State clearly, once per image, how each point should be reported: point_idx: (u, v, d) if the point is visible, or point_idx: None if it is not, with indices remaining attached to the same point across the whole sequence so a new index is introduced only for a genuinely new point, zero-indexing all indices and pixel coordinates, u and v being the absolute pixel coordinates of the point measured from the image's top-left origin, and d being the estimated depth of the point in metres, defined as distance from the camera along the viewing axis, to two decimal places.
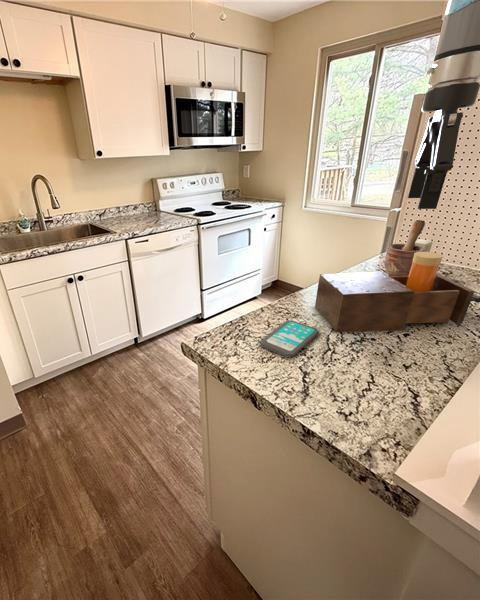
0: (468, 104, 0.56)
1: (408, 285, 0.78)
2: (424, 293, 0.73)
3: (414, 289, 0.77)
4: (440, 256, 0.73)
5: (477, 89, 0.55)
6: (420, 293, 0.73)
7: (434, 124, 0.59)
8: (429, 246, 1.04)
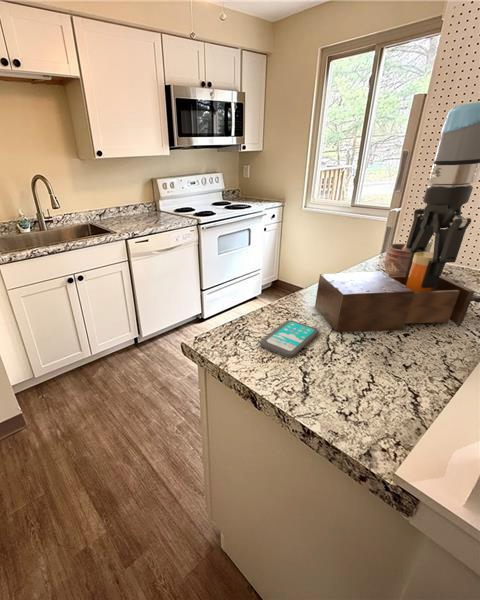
0: (466, 202, 0.67)
1: (408, 285, 0.78)
2: (424, 293, 0.73)
3: (414, 289, 0.77)
4: (440, 256, 0.73)
5: (471, 191, 0.66)
6: (420, 293, 0.73)
7: (440, 215, 0.69)
8: (429, 246, 1.04)
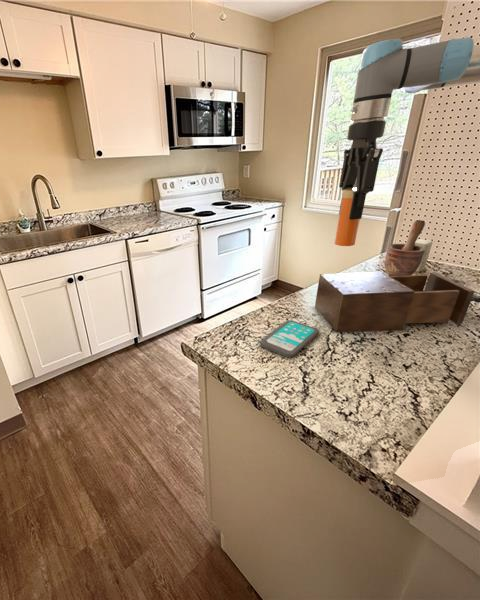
0: (381, 136, 0.75)
1: (339, 220, 0.87)
2: (424, 293, 0.73)
3: (344, 222, 0.85)
4: None
5: None
6: (420, 293, 0.73)
7: (360, 150, 0.77)
8: (429, 246, 1.04)
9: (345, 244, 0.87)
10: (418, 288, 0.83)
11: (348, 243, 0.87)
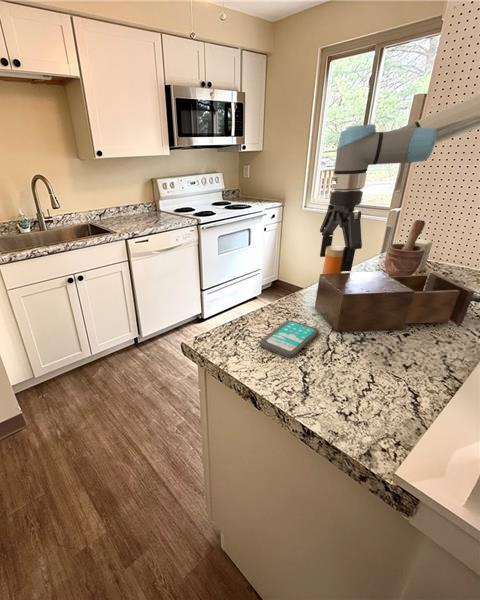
0: (359, 203, 0.83)
1: (323, 273, 0.95)
2: (424, 293, 0.73)
3: None
4: None
5: (362, 194, 0.83)
6: (420, 293, 0.73)
7: (340, 214, 0.86)
8: (429, 246, 1.04)
9: None
10: (418, 288, 0.83)
11: None
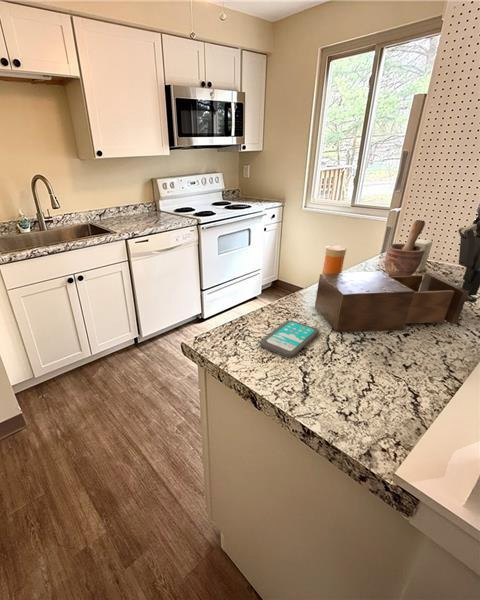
0: None
1: (323, 273, 0.95)
2: (419, 293, 0.73)
3: None
4: (344, 249, 0.90)
5: None
6: (415, 293, 0.73)
7: None
8: (429, 246, 1.04)
9: None
10: (413, 288, 0.83)
11: None
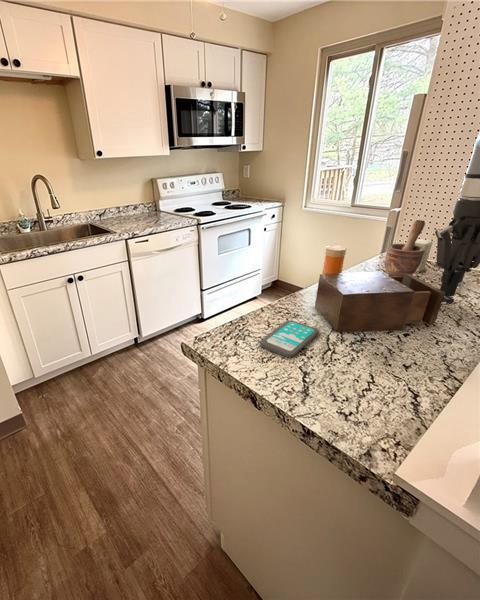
0: (471, 216, 0.68)
1: (323, 273, 0.95)
2: None
3: None
4: (344, 249, 0.90)
5: None
6: None
7: None
8: (429, 246, 1.04)
9: None
10: None
11: None
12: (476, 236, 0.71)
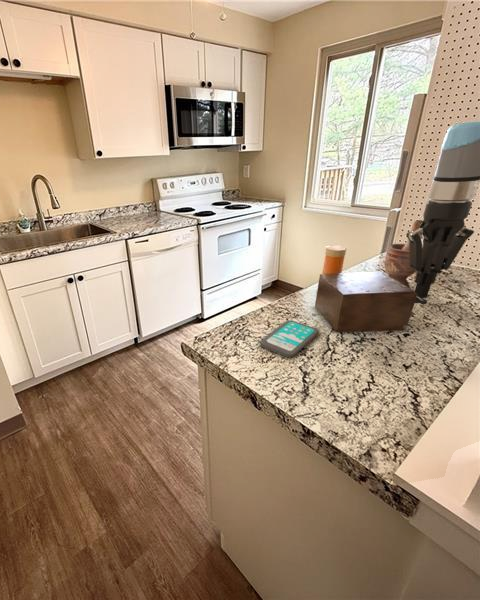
0: (439, 219, 0.69)
1: (323, 273, 0.95)
2: None
3: None
4: (344, 249, 0.90)
5: (449, 209, 0.67)
6: None
7: None
8: None
9: None
10: None
11: None
12: (446, 238, 0.71)
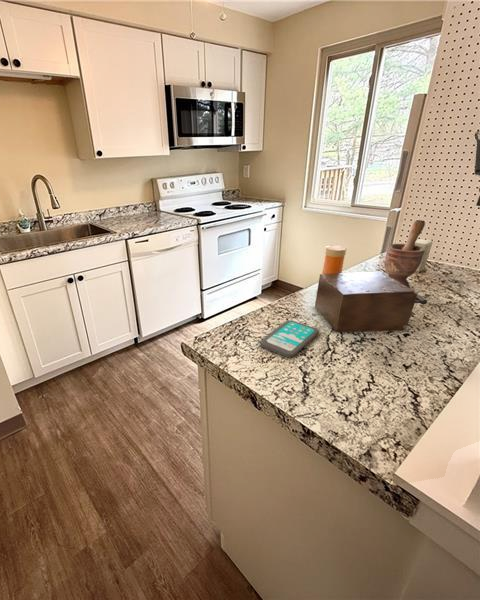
0: None
1: (323, 273, 0.95)
2: None
3: None
4: (344, 249, 0.90)
5: None
6: None
7: None
8: (429, 246, 1.04)
9: None
10: None
11: None
12: None
